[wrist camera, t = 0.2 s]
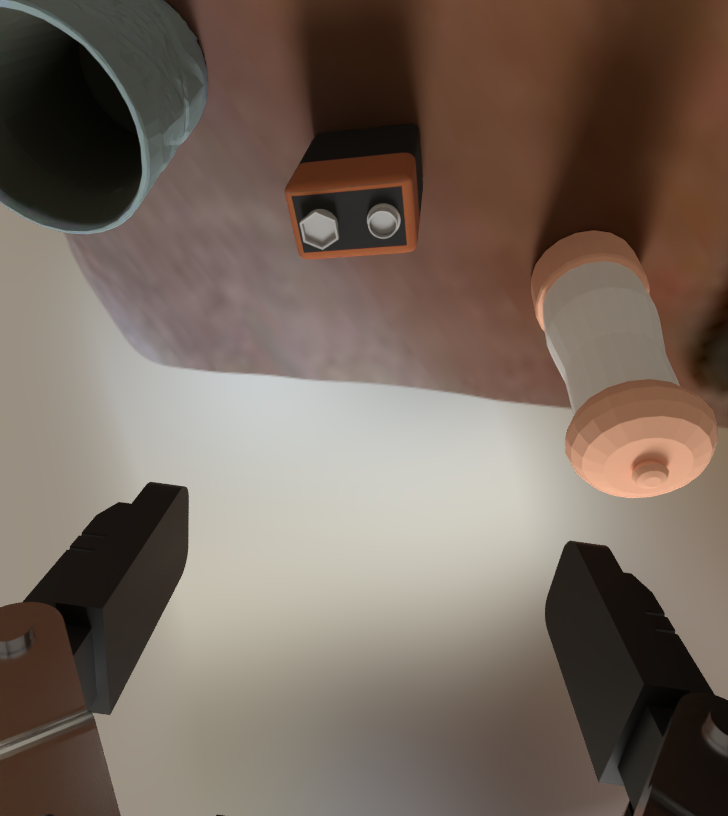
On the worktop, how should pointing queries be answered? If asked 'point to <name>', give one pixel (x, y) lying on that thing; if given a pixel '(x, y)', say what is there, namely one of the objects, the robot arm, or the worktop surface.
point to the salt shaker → (618, 371)
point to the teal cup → (92, 106)
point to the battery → (357, 193)
